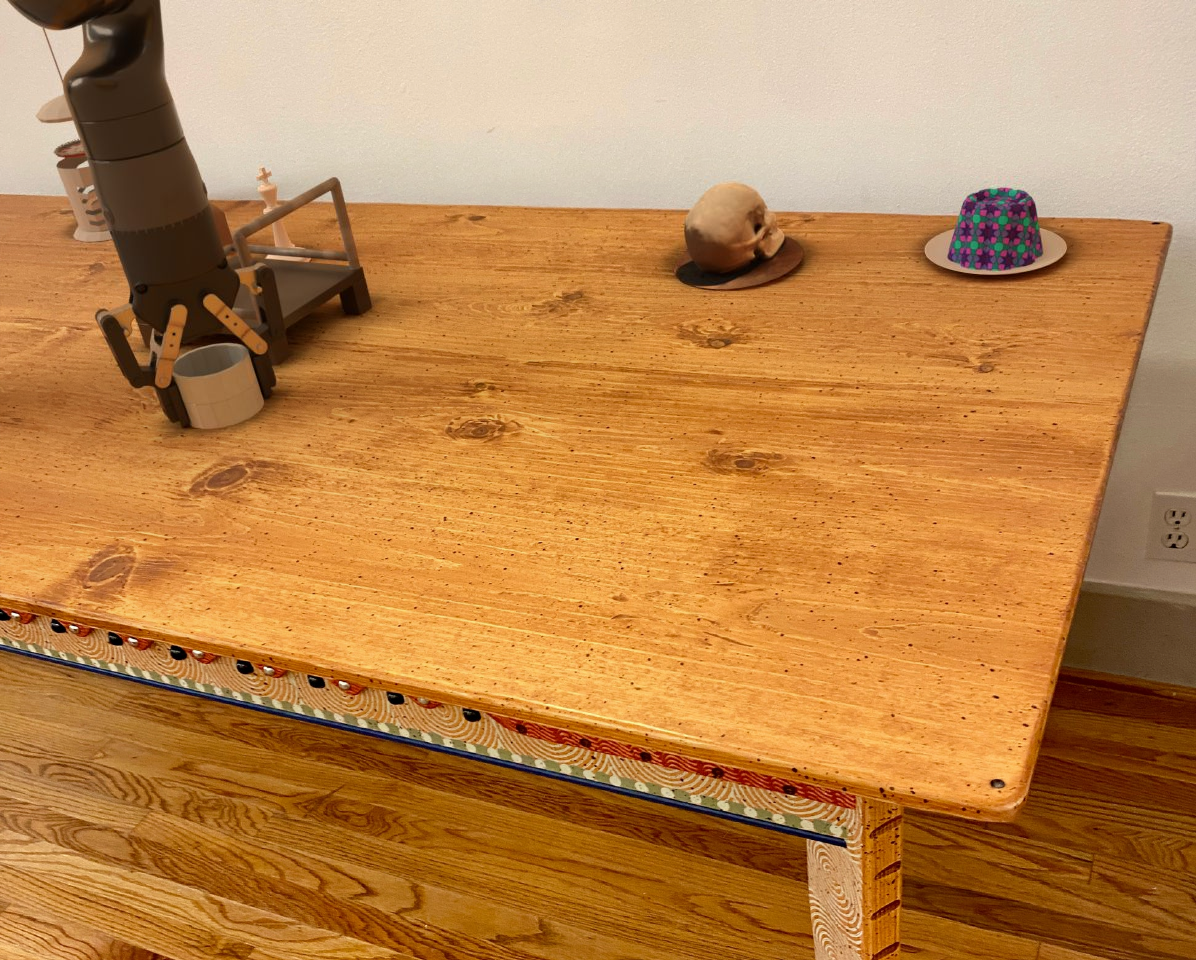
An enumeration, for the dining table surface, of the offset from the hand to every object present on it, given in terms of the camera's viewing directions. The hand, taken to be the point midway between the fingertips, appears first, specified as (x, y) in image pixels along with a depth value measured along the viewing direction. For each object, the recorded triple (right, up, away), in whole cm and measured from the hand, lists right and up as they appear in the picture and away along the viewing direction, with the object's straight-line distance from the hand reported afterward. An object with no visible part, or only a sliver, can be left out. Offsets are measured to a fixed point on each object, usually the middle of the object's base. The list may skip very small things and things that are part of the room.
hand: (224, 407), depth 99 cm
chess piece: (-2, +20, +29) cm, 35 cm away
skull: (+44, +15, +14) cm, 48 cm away
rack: (-1, +10, +15) cm, 18 cm away
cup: (0, -1, 0) cm, 1 cm away
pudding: (+66, +15, +8) cm, 68 cm away
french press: (-27, +29, +47) cm, 62 cm away
